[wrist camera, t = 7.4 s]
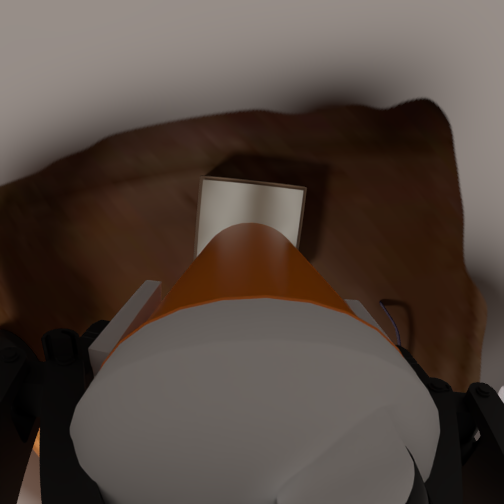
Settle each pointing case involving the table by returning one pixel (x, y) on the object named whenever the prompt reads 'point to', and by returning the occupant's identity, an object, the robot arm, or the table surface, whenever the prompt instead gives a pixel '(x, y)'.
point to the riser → (247, 207)
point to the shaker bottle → (256, 393)
